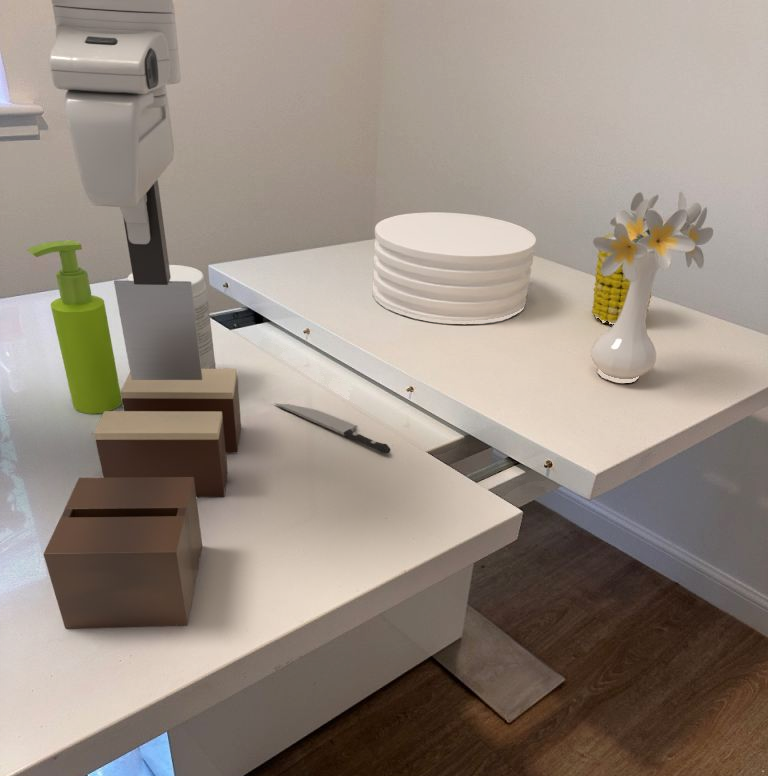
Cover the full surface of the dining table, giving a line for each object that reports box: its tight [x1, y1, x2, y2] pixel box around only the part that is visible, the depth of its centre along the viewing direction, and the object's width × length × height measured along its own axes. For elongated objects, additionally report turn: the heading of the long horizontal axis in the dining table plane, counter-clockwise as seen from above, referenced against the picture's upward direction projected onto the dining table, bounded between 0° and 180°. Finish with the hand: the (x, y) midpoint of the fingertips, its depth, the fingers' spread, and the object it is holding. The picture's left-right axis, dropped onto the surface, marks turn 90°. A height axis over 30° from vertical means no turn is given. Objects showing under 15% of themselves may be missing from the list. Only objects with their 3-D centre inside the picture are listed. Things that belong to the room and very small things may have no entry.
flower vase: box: [589, 190, 714, 379], centre depth 99 cm, size 13×18×25 cm
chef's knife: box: [274, 403, 391, 454], centre depth 90 cm, size 19×1×3 cm
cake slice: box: [93, 410, 229, 498], centre depth 75 cm, size 12×5×8 cm, turn 95°
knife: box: [113, 178, 203, 380], centre depth 67 cm, size 7×2×19 cm, turn 95°
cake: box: [120, 368, 242, 454], centre depth 83 cm, size 12×6×8 cm, turn 95°
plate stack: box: [372, 211, 537, 321], centre depth 128 cm, size 28×28×12 cm
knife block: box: [43, 477, 203, 629], centre depth 62 cm, size 10×11×8 cm
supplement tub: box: [126, 264, 217, 369], centre depth 93 cm, size 10×10×15 cm
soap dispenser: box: [26, 239, 123, 415], centre depth 86 cm, size 6×7×20 cm
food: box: [591, 232, 652, 323], centre depth 122 cm, size 15×12×10 cm
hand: (144, 236), depth 64 cm, fingers closed on knife, 2 cm apart
